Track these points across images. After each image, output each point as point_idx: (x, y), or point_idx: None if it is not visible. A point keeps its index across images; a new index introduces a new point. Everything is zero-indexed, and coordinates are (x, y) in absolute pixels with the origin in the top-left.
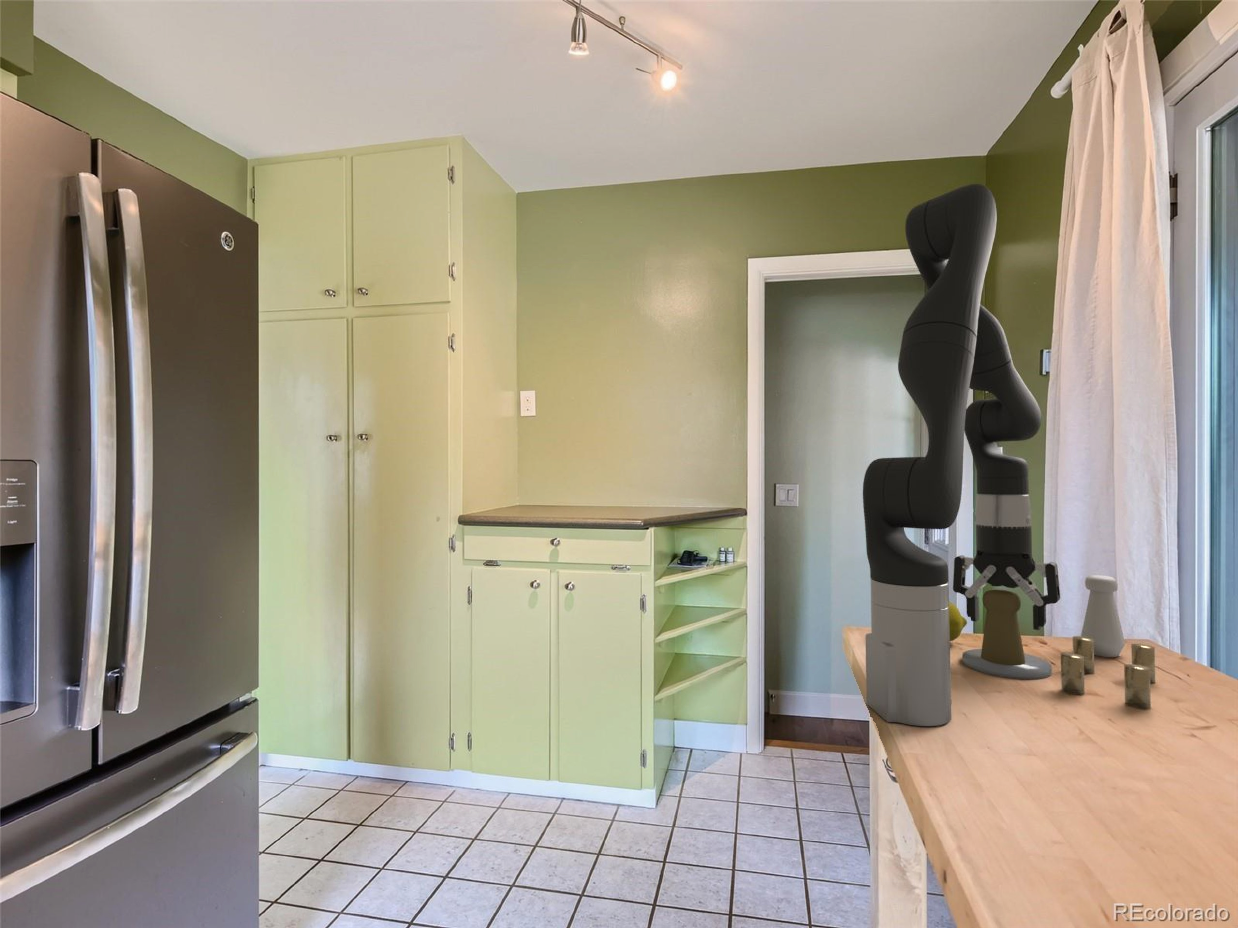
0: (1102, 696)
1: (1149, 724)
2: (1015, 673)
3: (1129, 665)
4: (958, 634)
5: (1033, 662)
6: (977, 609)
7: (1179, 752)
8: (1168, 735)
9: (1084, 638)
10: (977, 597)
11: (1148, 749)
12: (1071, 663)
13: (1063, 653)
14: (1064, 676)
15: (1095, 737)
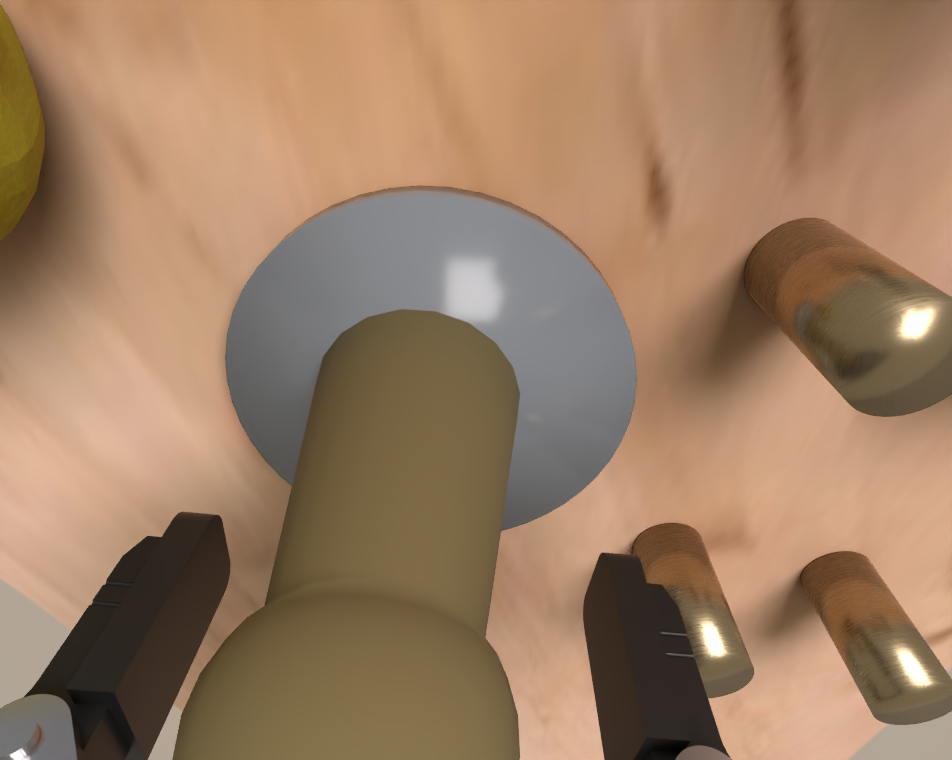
0: (751, 547)
1: (797, 667)
2: None
3: (898, 698)
4: (43, 137)
5: (556, 379)
6: (185, 613)
7: (788, 745)
8: (810, 698)
9: (922, 360)
10: (117, 708)
11: (734, 752)
12: None
13: None
14: None
15: None
